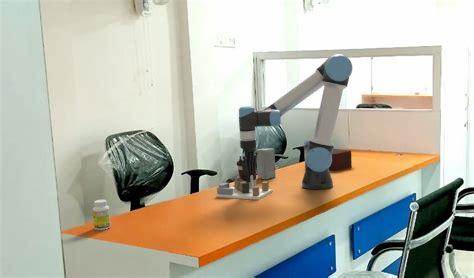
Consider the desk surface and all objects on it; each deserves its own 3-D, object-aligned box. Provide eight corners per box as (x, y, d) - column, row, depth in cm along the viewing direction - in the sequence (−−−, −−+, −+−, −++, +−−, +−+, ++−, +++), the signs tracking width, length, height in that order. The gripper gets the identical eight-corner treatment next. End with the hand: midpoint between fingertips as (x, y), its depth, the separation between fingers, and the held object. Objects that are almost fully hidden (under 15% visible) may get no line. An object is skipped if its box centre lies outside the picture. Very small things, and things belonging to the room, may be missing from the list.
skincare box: (265, 179, 295) (264, 150, 293) (256, 178, 301) (255, 149, 299) (276, 177, 301) (275, 148, 299) (267, 175, 306) (266, 147, 304)
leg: (234, 187, 273) (234, 177, 272) (240, 187, 274) (240, 176, 273) (243, 193, 260) (242, 182, 259) (249, 192, 261) (249, 181, 260)
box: (353, 167, 320) (353, 149, 319) (335, 171, 310) (334, 153, 309) (325, 163, 336) (325, 147, 335) (307, 167, 326) (306, 150, 324)
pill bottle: (95, 226, 221) (93, 199, 219) (111, 225, 221) (109, 198, 220) (93, 231, 214) (90, 203, 213) (109, 230, 215) (107, 202, 214)
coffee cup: (255, 189, 271) (252, 159, 269) (236, 190, 274) (233, 160, 272) (260, 185, 280) (258, 156, 278) (242, 185, 284) (239, 156, 282)
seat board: (272, 191, 266) (272, 181, 266) (259, 199, 252) (258, 188, 252) (231, 189, 276) (230, 179, 275) (216, 196, 262) (215, 185, 261)
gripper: (248, 137, 268) (250, 184, 271) (233, 141, 257) (236, 191, 261) (261, 137, 264) (263, 186, 267) (247, 142, 253) (249, 192, 257)
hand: (250, 188), depth 264 cm, fingers closed
